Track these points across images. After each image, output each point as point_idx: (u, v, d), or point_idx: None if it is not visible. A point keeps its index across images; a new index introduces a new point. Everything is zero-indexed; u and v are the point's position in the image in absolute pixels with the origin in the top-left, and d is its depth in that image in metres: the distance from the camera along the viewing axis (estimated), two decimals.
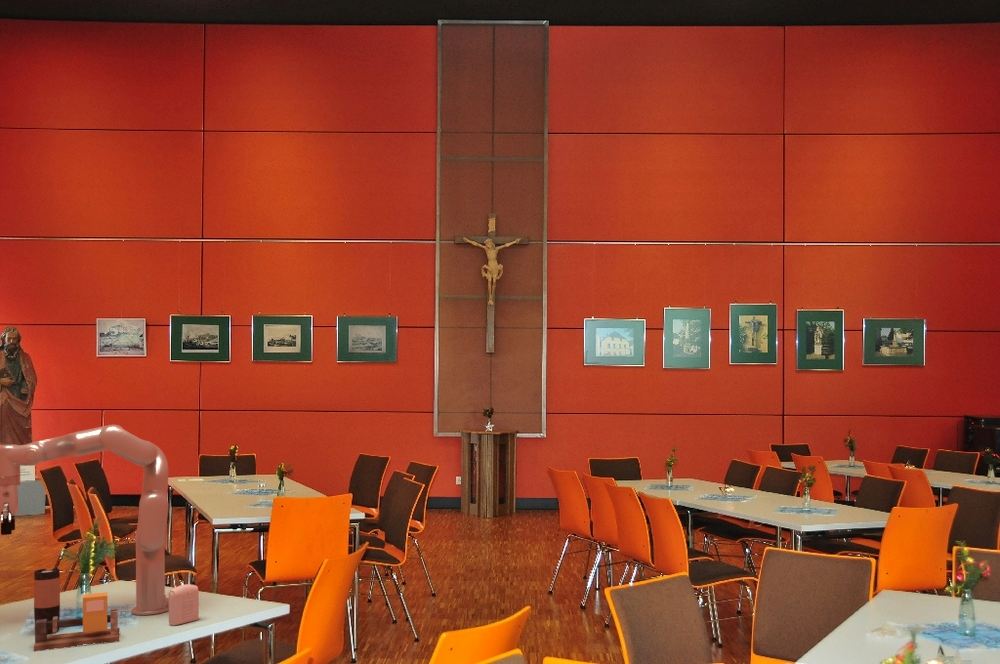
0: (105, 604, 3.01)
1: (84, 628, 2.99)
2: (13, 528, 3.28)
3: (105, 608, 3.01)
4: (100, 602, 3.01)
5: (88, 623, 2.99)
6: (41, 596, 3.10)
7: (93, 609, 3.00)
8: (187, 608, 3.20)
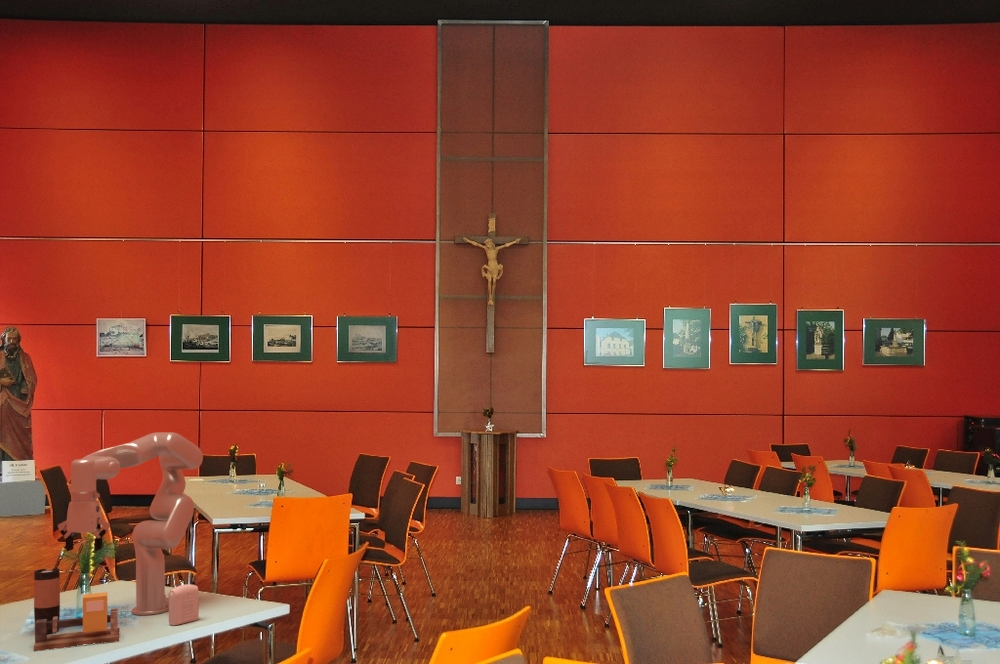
0: (105, 604, 3.01)
1: (84, 628, 2.99)
2: (72, 547, 3.14)
3: (105, 608, 3.01)
4: (100, 602, 3.01)
5: (88, 623, 2.99)
6: (41, 596, 3.10)
7: (93, 609, 3.00)
8: (187, 608, 3.20)
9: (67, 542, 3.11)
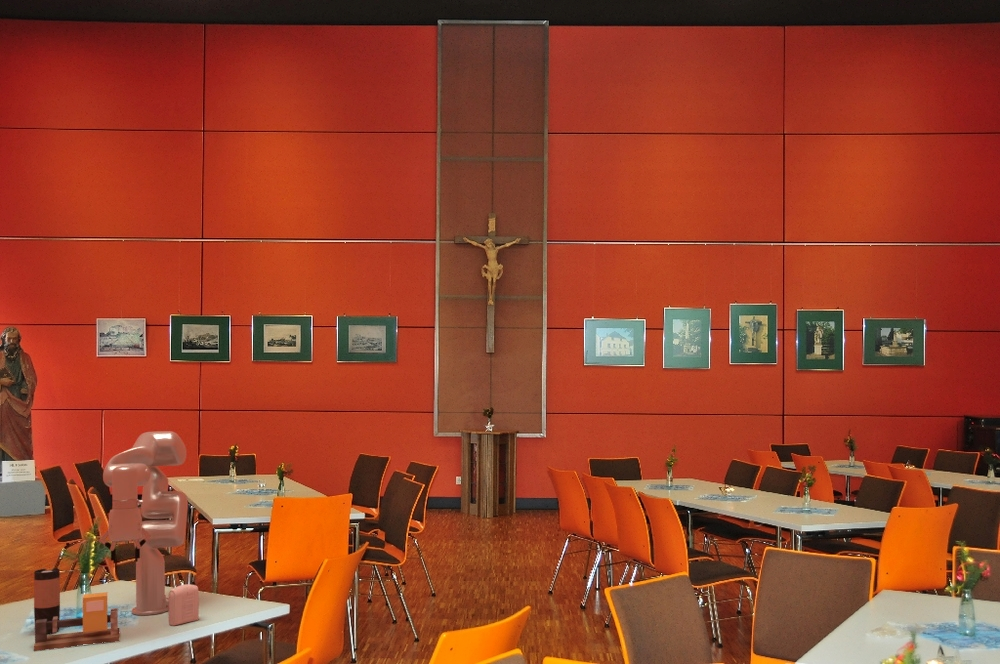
0: (105, 604, 3.01)
1: (84, 628, 2.99)
2: None
3: (105, 608, 3.01)
4: (100, 602, 3.01)
5: (88, 623, 2.99)
6: (41, 596, 3.10)
7: (93, 609, 3.00)
8: (187, 608, 3.20)
9: (114, 554, 3.04)
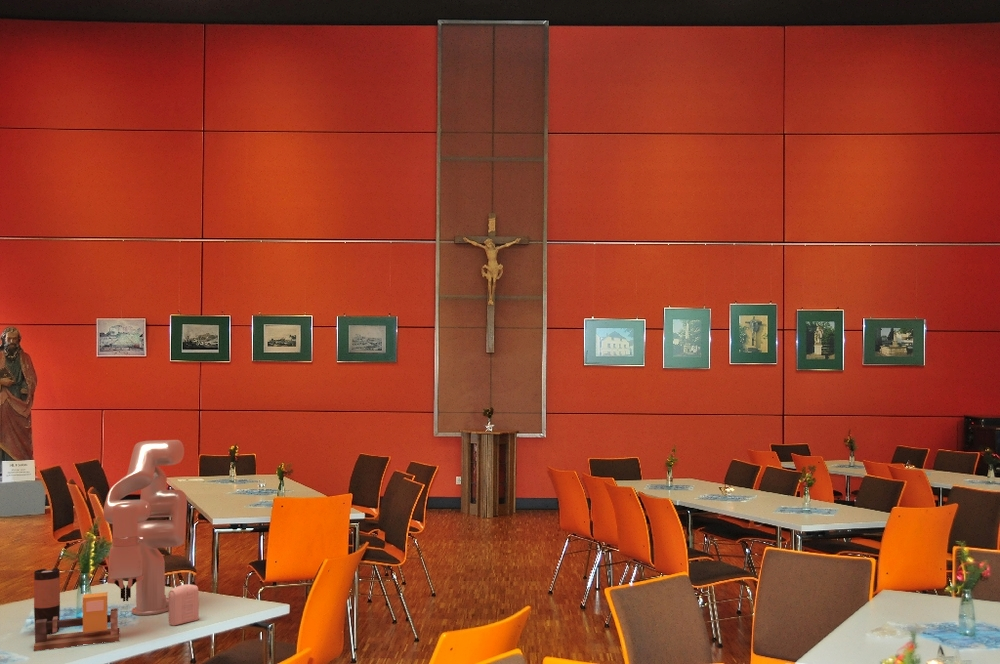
0: (105, 604, 3.01)
1: (84, 628, 2.99)
2: None
3: (105, 608, 3.01)
4: (100, 602, 3.01)
5: (88, 623, 2.99)
6: (41, 596, 3.10)
7: (93, 609, 3.00)
8: (187, 608, 3.20)
9: (124, 592, 3.04)
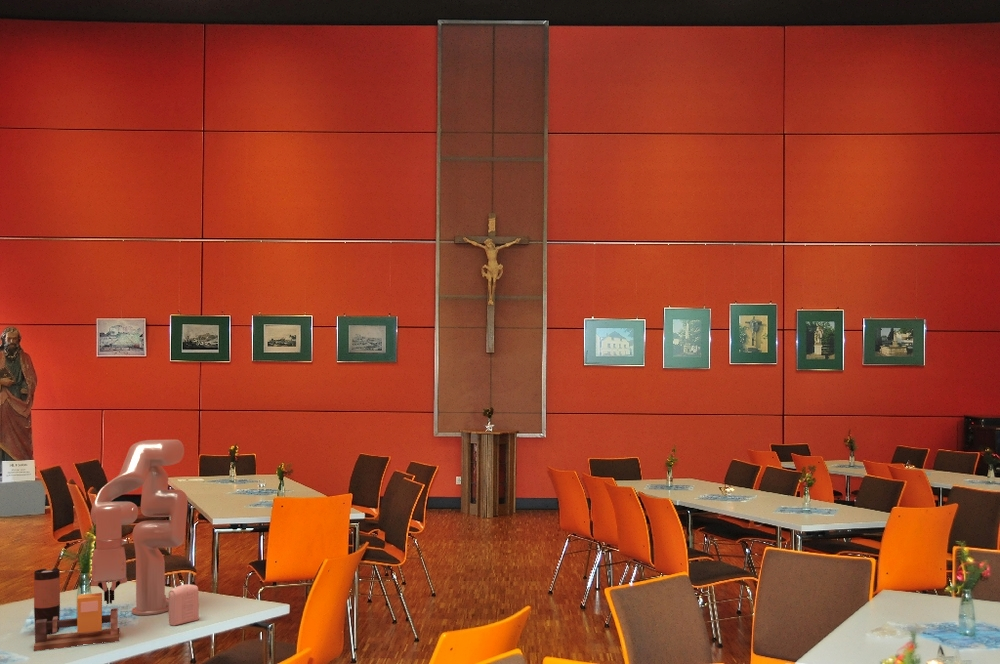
0: (100, 605, 3.01)
1: (78, 629, 2.98)
2: None
3: (100, 609, 3.01)
4: (94, 602, 3.00)
5: (82, 624, 2.99)
6: (41, 596, 3.10)
7: (88, 610, 2.99)
8: (187, 608, 3.20)
9: (107, 595, 3.03)
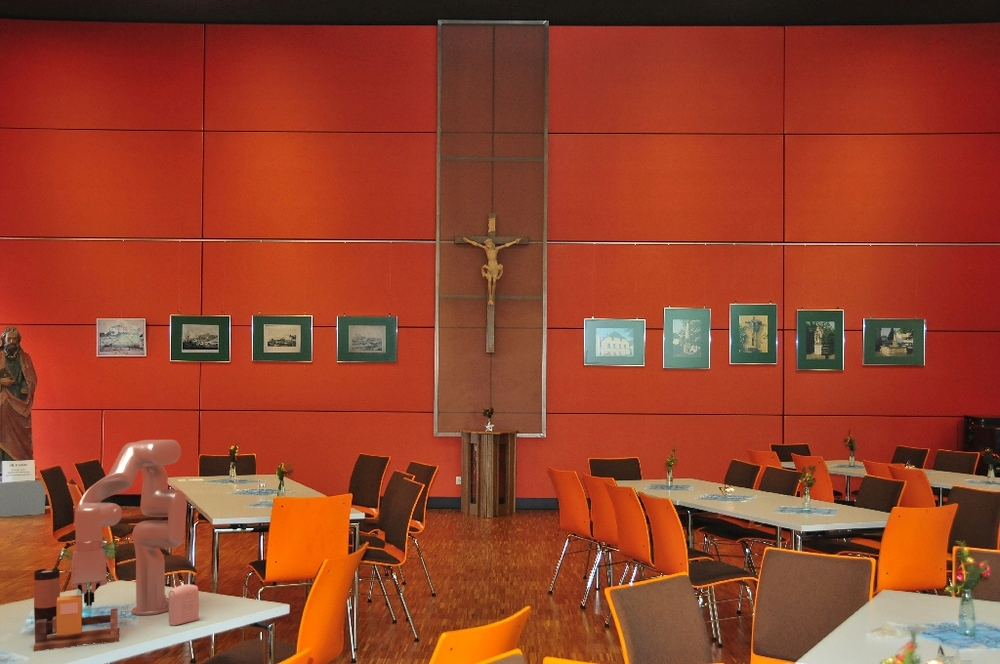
0: (79, 607, 2.99)
1: (58, 631, 2.96)
2: None
3: (79, 611, 2.99)
4: (74, 604, 2.98)
5: (62, 626, 2.97)
6: (41, 596, 3.10)
7: (67, 612, 2.97)
8: (187, 608, 3.20)
9: (87, 597, 3.01)
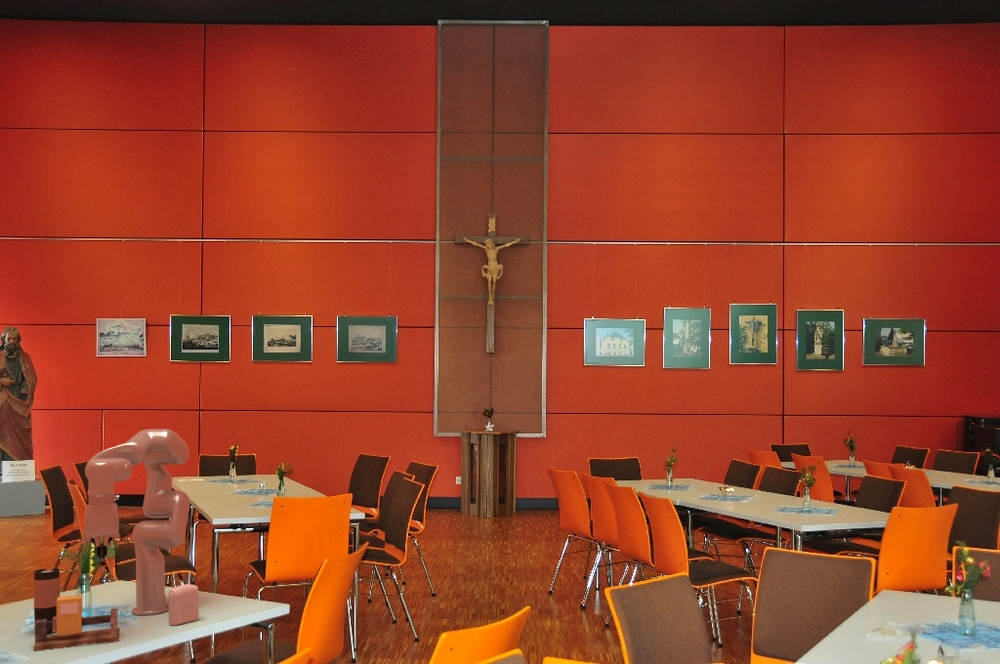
0: (79, 607, 2.99)
1: (58, 631, 2.96)
2: None
3: (79, 611, 2.99)
4: (74, 604, 2.98)
5: (62, 626, 2.97)
6: (41, 596, 3.10)
7: (67, 612, 2.97)
8: (187, 608, 3.20)
9: (100, 550, 3.03)
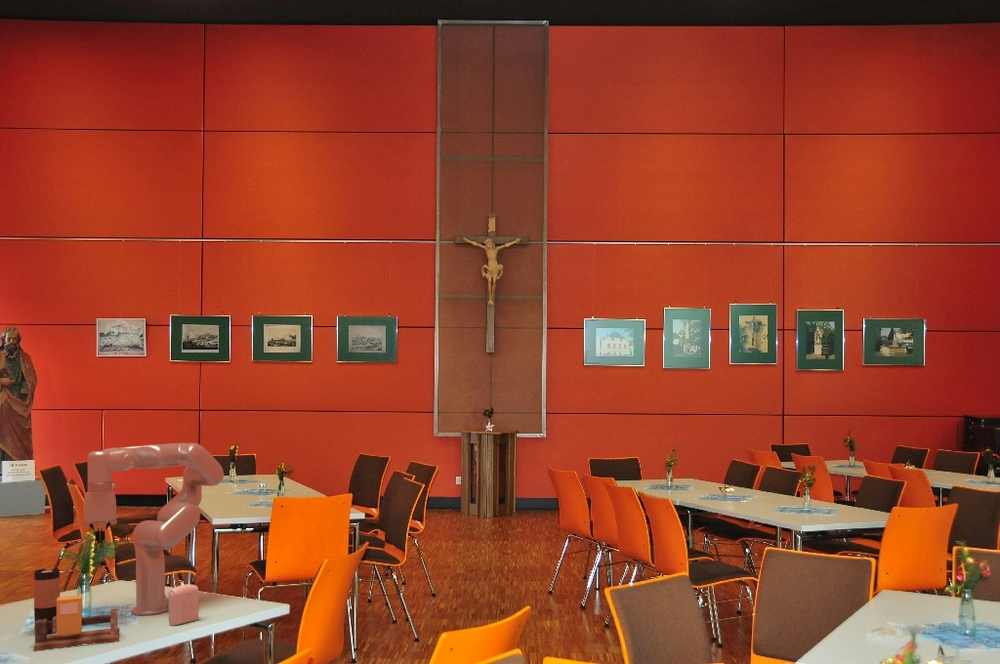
0: (79, 607, 2.99)
1: (58, 631, 2.96)
2: None
3: (79, 611, 2.99)
4: (74, 604, 2.98)
5: (62, 626, 2.97)
6: (41, 596, 3.10)
7: (67, 612, 2.97)
8: (187, 608, 3.20)
9: (98, 535, 3.21)
